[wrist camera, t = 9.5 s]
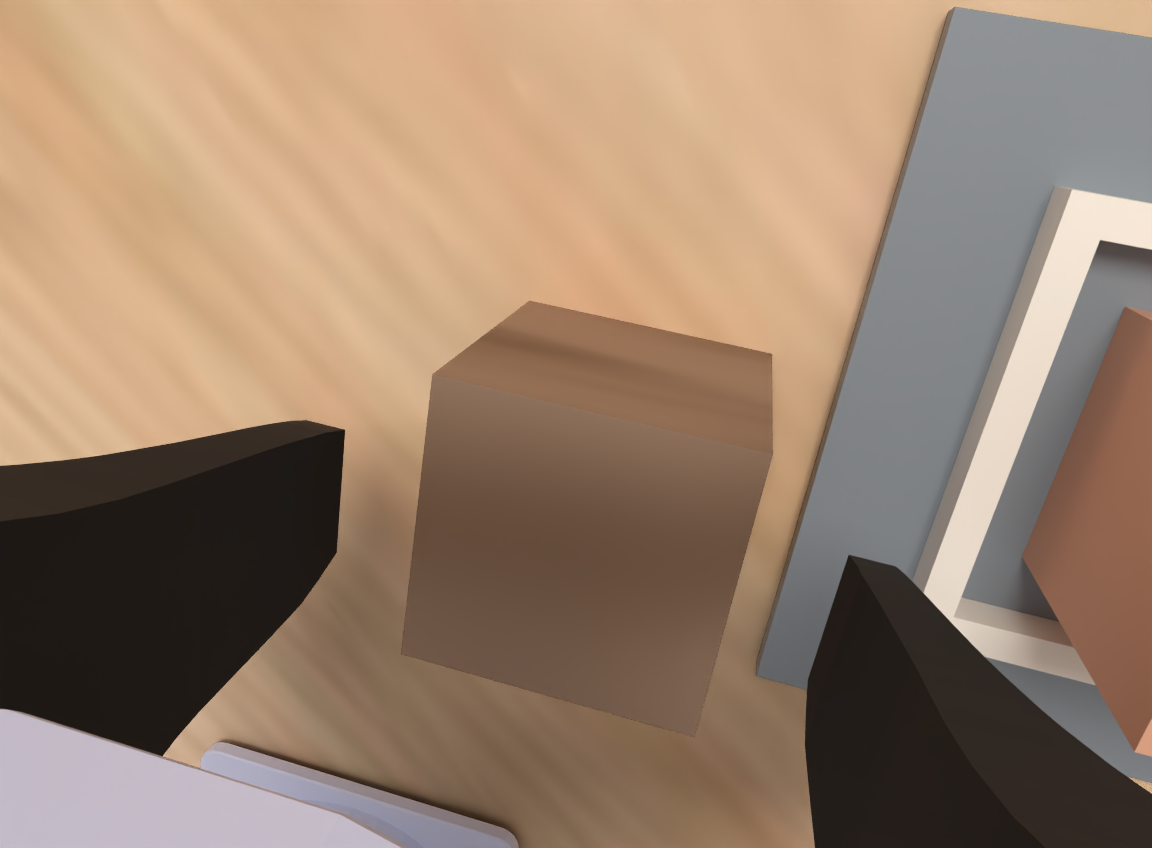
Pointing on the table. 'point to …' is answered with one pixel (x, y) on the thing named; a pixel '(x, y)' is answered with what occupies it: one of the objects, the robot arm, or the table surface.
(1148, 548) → the terracotta block
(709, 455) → the walnut block
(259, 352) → the table surface
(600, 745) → the table surface
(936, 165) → the board
